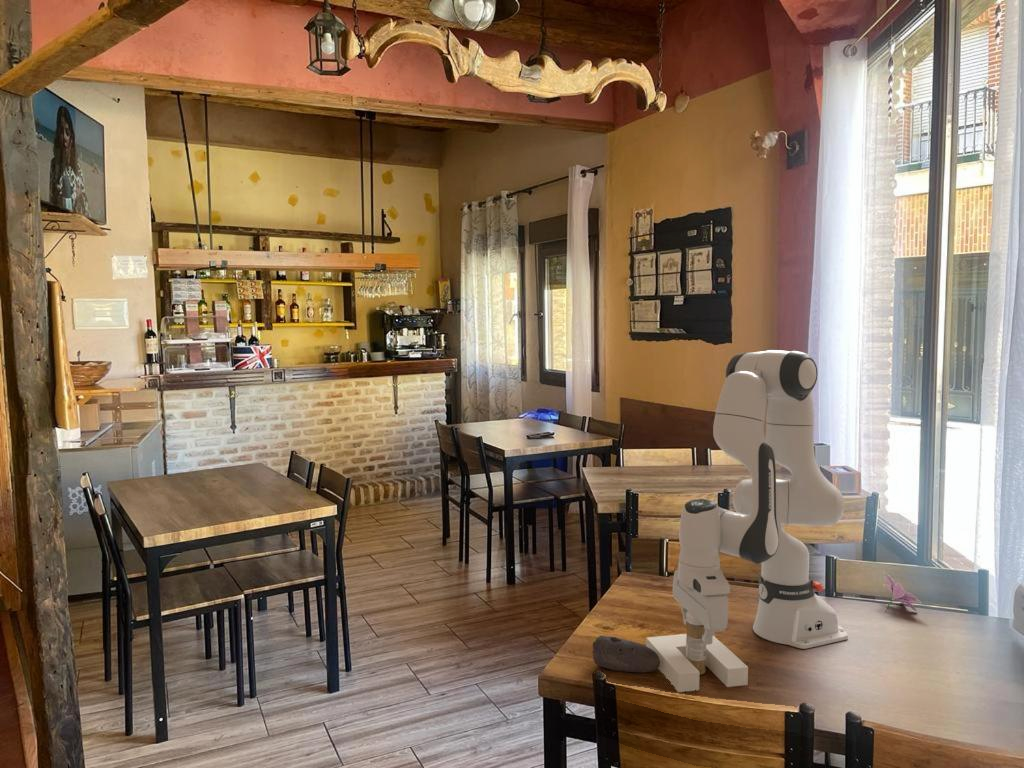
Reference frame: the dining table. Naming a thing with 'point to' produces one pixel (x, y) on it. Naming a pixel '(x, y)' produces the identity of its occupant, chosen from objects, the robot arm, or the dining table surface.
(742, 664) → the slotted plate
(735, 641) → the dining table surface
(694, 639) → the sprinkles bottle
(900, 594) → the lily
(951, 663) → the dining table surface
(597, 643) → the perforated stone tool
